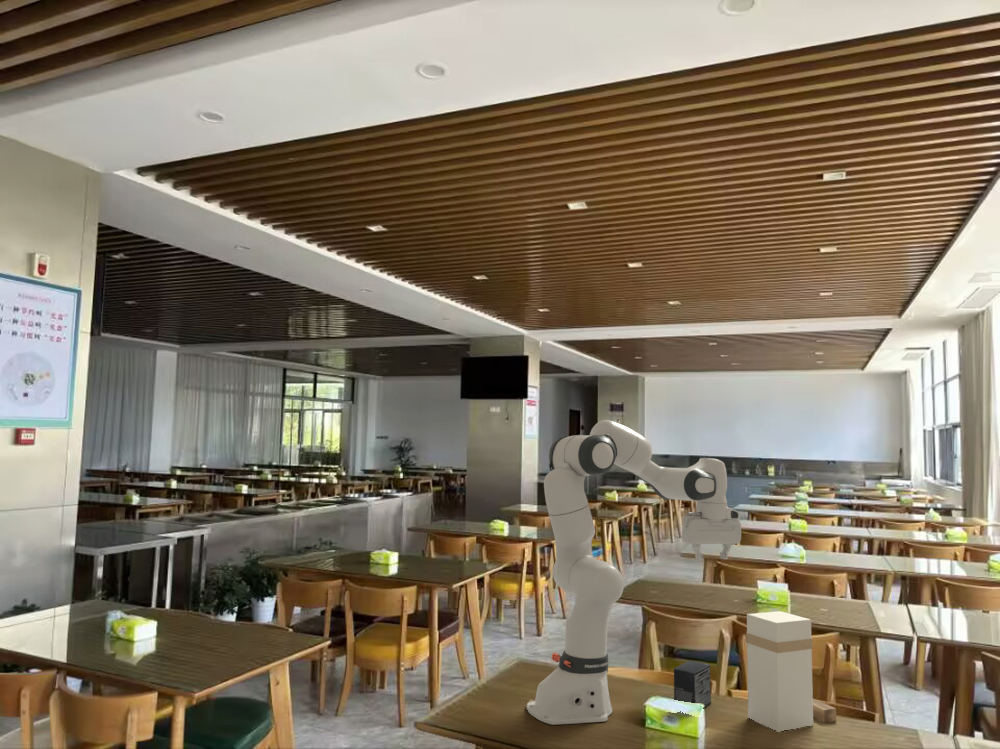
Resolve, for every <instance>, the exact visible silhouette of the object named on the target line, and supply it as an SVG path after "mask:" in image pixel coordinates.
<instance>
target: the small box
mask: <svg viewBox="0 0 1000 749" xmlns="http://www.w3.org/2000/svg"><path fill="white" fill-rule="evenodd" d="M674 700H678V701H684V702H691V703H703V704H704V705H705V708H707V707H708V706H711V704H712V694H711V664H709V663H704V662H699V661H694V660H688V661H686V662H684V663H682V664H680V665H678V666H676V667H674V668H673V701H674Z"/></svg>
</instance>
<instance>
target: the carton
mask: <svg viewBox="0 0 1000 749" xmlns="http://www.w3.org/2000/svg"><path fill="white" fill-rule="evenodd" d="M745 638H746V639H745V642H746V653H747V655H746V656H747V657H746V658H747V667H746V668H747V669H746V670H747V718H748V719H749V718H750V720H751V719H752V720H751V721H753V720H754V721H753V722H755V723H757V724H760V725H762V726H765V727H766V728H768V727H769V728H768V729H770V728H771V730H772V729H773V731H774V730H776V731H778V732H777V733H780V732H779V731H784V730H789V731H791V730H790V729H794V730H797V729H796V728H799V729H801V728H800V727H805V726H810V727H813V726H814V718H813V699H814V696H813V693H814V692H813V691H814V689H813V688H814V686H813V647H814V646H813V638H812V619H810V618H806V617H804V616H803V617H802V616H799V615H796V614H792V613H789V612H785V611H781V610H778V611H766V612H758V613H757V612H756V613H755V612H754V613H746V633H745ZM812 725H813V726H812ZM805 728H806V727H805ZM776 731H775V732H776ZM784 732H785V731H784Z"/></svg>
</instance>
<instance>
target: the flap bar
mask: <svg viewBox="0 0 1000 749" xmlns="http://www.w3.org/2000/svg"><path fill="white" fill-rule="evenodd" d="M813 717H815V718H817V719H818V720H817V719H816V720H817V721H819V720H820V721H819V722H821V721H822V722H821V723H823V722H828V723H834V722H833V721H836V722H837V708H835V707H833V706H831V705H829V704H827V703H825V702H822V701H820V700H818V699H815V698H813ZM815 718H814V719H815ZM831 721H832V722H831Z"/></svg>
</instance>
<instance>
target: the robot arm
mask: <svg viewBox="0 0 1000 749" xmlns="http://www.w3.org/2000/svg"><path fill="white" fill-rule="evenodd" d="M548 454H549V455H548V462H549V463H548V464H549V465H548V468H549V470H550V471H549V472H548V473H547V474H546V475H545V477H544V480H543V488H544V489H543V490H544V498H545V504H546V509H547V513H548V517H549V520H550V524H551V528H552V532H553V535H554V536H553V537H554V542H555V557H556V558H555V562H554V564H553V567H552V578H553V580H554V582H555V583H556V585H557V586H558V587H559V588H560V589H561V590H563V591H564V592H566V594H570V595H572V596H574V598H575V601H574V605H573V609H572V611H571V614H570V616H568V617H567V619H566V620H565V622H564V623H565V624H564V625H565V626H564V627H565V628H564V629H565V631H564V650H563V653H562V654H561V655H560V654H559V653H557V652H552V654H551V658H550V659H551V660H552V662H553V661H554V662H555V663H558V667H557V668H555V669H554V670H553V671H552V672H551V673H550V674H548V676H546V677H545V678H544V679H543V680H541V682H540V683H538V685H537V688H536V693H535V699H534V700H533V701H529V702H527V703H526V711H527V710H528V711H527V712H528V713H529V714H530V716H532V717H534V718H536V719H537V720H539V721H540V722H542V723H545V724H549V725H569V724H570V725H571V724H584V723H585V724H586V723H600V722H607V721H608V719H609V716H610V715H611V714H612V712H613V707H612V704H611V700H610V693H609V685H608V684H609V683H608V670H609V655H608V652H607V651H608V650H607V648H608V647H607V645H608V641H607V640H608V625H609V619H610V615H611V612H612V609H613V606H614V604H616V602H617V601H618V600H619V599H620V598H621V597H622V594H623V591H624V588H625V581H624V577H623V575H622V573H621V571H620V570H619V569H617V568H616V567H615V566H613V565H612V564H610V563H609V562H607V561H604V560H602V559H597V558H595V557H594V554H593V548H592V546H593V544H592V540H593V539H594V536H595V535H596V528H595V525H594V524H595V523H594V520H593V519H594V518H593V516H592V512H591V508H590V504H589V501H588V497H587V494H586V492H585V479H586V477H589V476H592V477H593V476H594V477H597V476H601V475H604V474H606V473H608V472H609V471H610V470H611V469H612V468H613V466H614V465H615V466H617V467H620V468H621V469H623V470H625V471H627V472H630V473H631V474H633V475H634V476H635V477H637V478H639V479H640V480H642V481H643V482H645V483H646V484H648V485H649V487H651V489H653V491H654V492H655V494H656V495H657V496H658V497H659V498H660V499H663V500H667V501H669V500H671V501H673V500H676V501H688V502H690V501H691V502H696V511H695V512H691V511H688V512H687V513H686V514H685V515H684V517H683V524H682V532H681V540H682V542H683V543H684V544H687V545H691V548H692V550H693V552H694V554H695V557H694V558H695V560H697V561H702V560H703V559H704V553H702V552H701V550H700V548H701V545H721V544H722V545H721V546H722V548H723V549H722V550H721V552H719V558H720V559H721V560H728V559H729V558H728V557H729V556H728V554H729V552H730V550H731V548H732V547H731V546H732V545H733V544H735V545H737V544H740V542H741V540H742V525H741V521H740V519H741V512H740V511H738V510H736V509H733V508H731V507H728V500H727V495H726V494H727V491H728V476H727V468H726V464H725V463H724V461H722V460H720V459H717V458H711V457H699V460H698V461H697V462H696V463H694V464H693V465H690V466H689V467H671V466H660V465H658V464H657V463H655V462H654V461H652V460H651V459H652V455H653V448H652V444H651V442H650V441H649V440H648V439H647V438H646V437H644V436H643V435H642V434H640V433H639V432H637V431H635V430H634V429H632V428H630V427H628V426H626V425H623V424H621V423H620V422H616V421H613V420H610V419H602V420H600V421H598V422H597V423H595V425H594V426H592V428H591V430H590V433H589V435H584V434H577V435H570V436H569V435H568V436H563V437H560V438H558V439H556V440H555V441H554V442H553V443H552V444H551V446H550V448H549V453H548Z"/></svg>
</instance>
